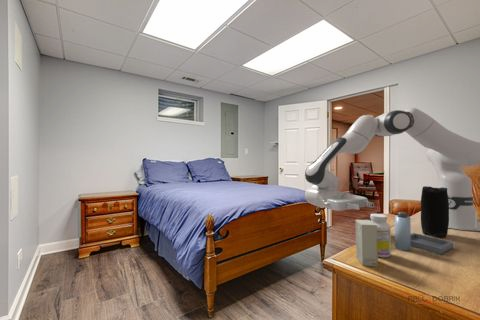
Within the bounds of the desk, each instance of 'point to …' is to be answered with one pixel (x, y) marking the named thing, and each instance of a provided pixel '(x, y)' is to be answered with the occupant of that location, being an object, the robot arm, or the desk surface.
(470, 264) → the desk surface
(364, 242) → the skincare box
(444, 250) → the box
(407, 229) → the blue bottle
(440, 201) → the portable speaker
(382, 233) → the supplement bottle
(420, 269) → the desk surface
